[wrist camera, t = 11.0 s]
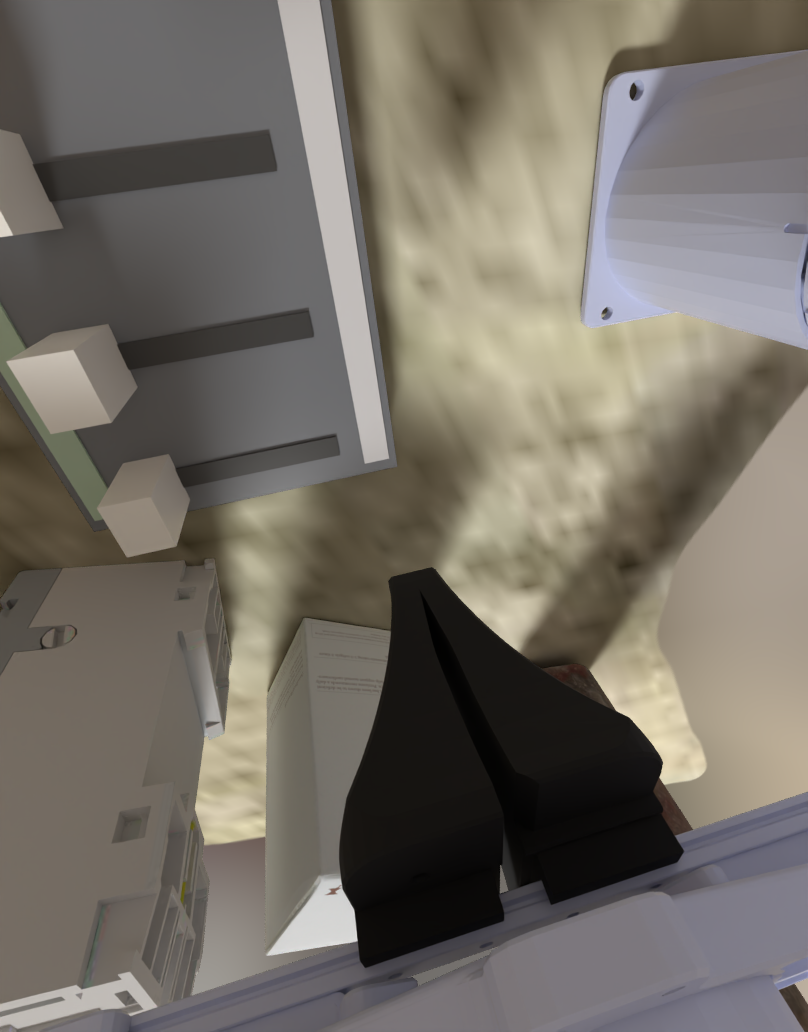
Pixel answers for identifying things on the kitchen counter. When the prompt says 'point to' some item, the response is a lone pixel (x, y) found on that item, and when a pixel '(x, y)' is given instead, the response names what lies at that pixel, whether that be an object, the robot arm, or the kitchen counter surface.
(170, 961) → the circuit breaker
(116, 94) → the breaker panel
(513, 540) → the kitchen counter surface
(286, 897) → the supplement box
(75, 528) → the kitchen counter surface
